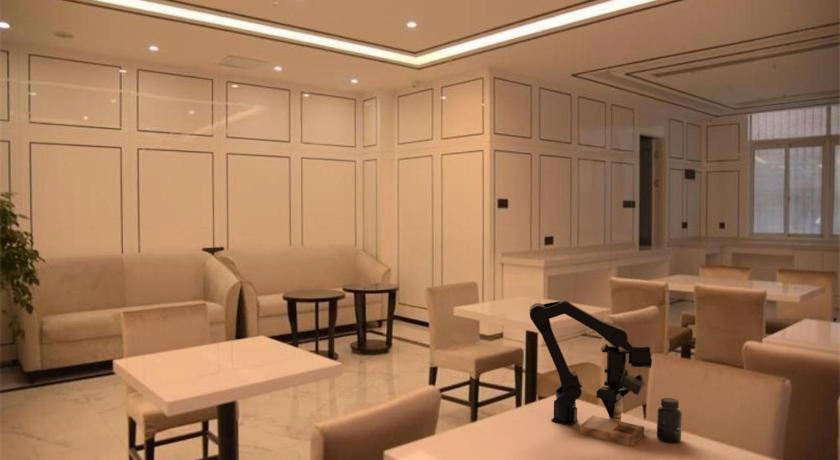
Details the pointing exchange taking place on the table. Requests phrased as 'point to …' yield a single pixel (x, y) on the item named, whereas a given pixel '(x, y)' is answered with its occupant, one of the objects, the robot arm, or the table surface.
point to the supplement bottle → (669, 421)
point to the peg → (618, 410)
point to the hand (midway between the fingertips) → (614, 414)
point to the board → (612, 430)
